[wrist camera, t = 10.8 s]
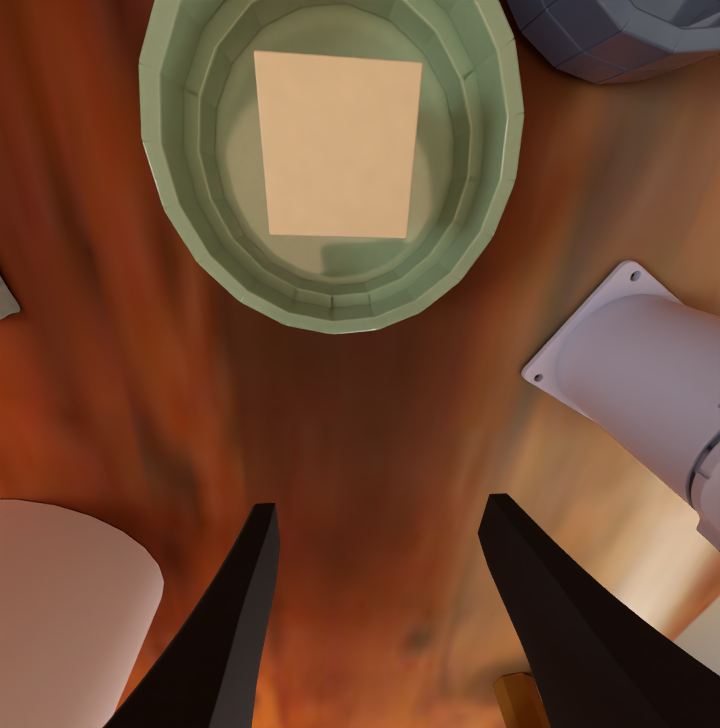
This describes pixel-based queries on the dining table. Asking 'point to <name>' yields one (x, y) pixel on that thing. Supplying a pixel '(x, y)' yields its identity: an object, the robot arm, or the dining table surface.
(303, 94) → the block
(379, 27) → the sage bowl
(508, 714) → the decorative tree
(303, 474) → the dining table surface
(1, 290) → the stone
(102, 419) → the dining table surface
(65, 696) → the cylinder
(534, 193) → the dining table surface
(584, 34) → the slate bowl
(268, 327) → the dining table surface
